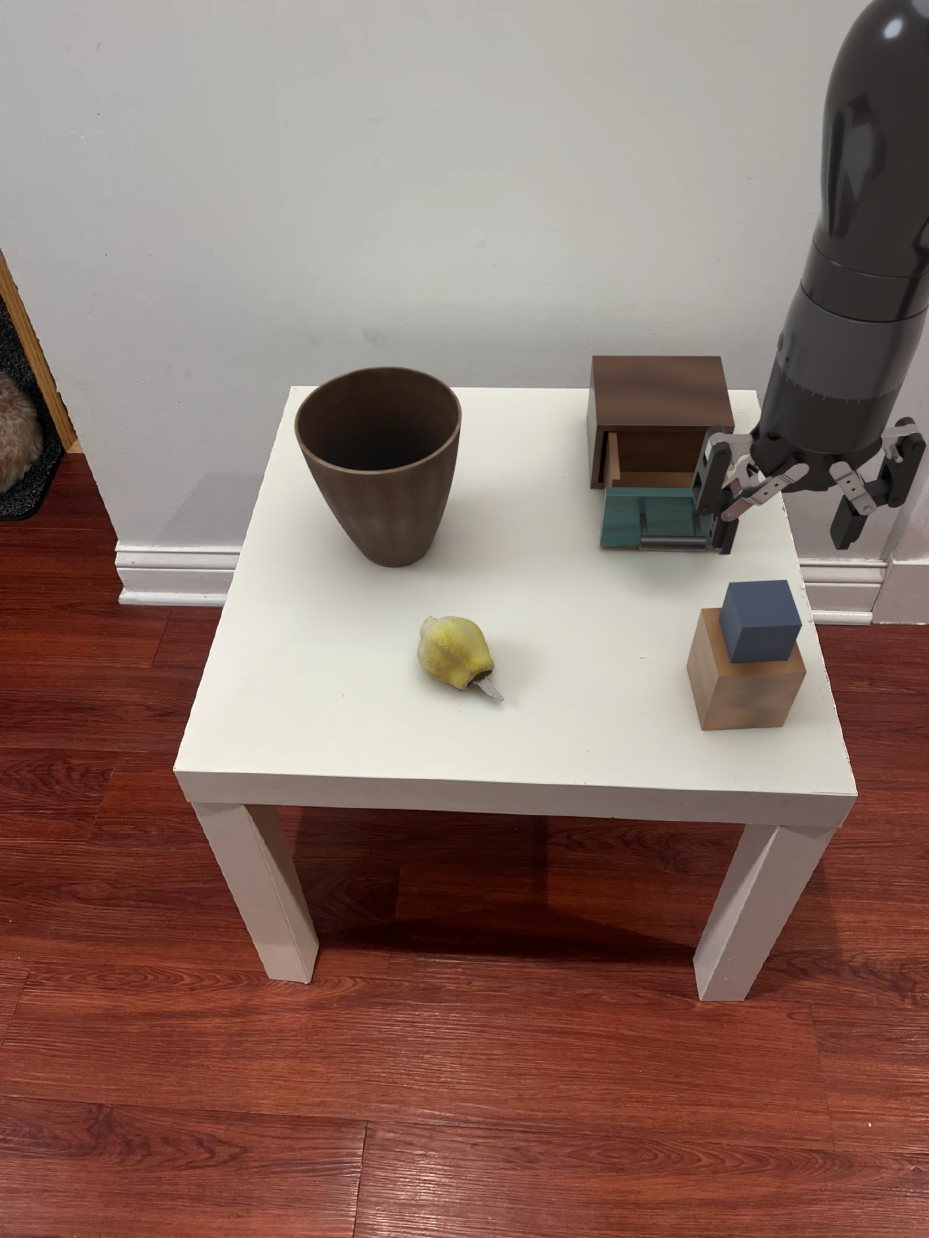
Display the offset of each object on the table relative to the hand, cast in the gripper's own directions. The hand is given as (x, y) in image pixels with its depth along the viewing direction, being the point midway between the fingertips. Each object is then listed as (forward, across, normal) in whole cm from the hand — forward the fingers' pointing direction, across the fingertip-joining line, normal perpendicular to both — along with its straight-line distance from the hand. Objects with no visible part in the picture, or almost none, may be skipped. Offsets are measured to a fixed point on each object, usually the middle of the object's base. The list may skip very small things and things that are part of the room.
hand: (779, 544), depth 68 cm
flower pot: (+18, -30, +20) cm, 40 cm away
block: (+10, 0, -1) cm, 10 cm away
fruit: (+18, -24, +2) cm, 30 cm away
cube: (+18, 0, -1) cm, 18 cm away
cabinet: (+18, -2, +31) cm, 36 cm away
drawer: (+17, -3, +20) cm, 26 cm away
